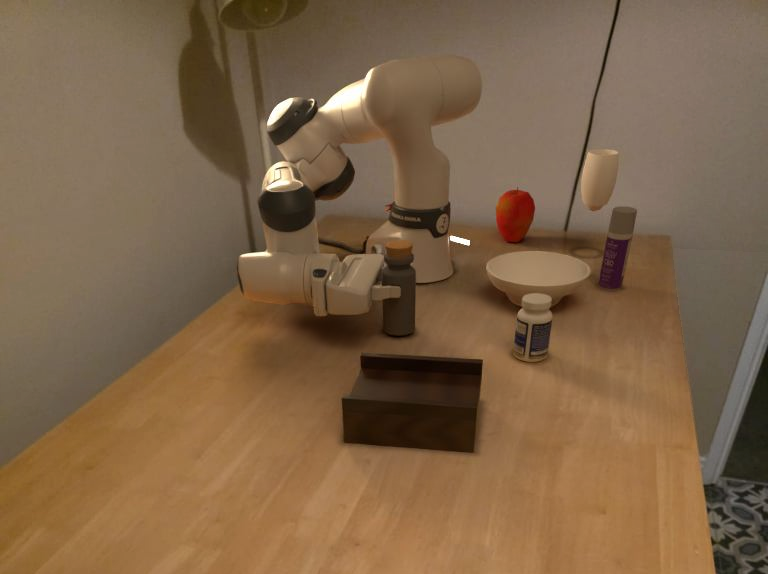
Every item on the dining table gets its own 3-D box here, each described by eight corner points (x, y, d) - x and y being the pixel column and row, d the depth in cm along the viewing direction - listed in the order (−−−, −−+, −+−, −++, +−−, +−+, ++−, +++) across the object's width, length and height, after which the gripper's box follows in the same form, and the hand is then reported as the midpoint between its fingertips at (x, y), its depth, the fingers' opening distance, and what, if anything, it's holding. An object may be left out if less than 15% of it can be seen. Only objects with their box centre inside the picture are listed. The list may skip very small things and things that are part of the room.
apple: (489, 236, 165) (493, 183, 157) (525, 234, 165) (530, 181, 158) (498, 247, 157) (503, 193, 150) (535, 245, 158) (542, 191, 150)
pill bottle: (549, 350, 114) (557, 293, 108) (544, 365, 110) (552, 306, 104) (516, 346, 116) (522, 289, 109) (509, 360, 111) (516, 302, 105)
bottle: (412, 336, 118) (413, 250, 109) (379, 334, 119) (378, 248, 110) (417, 323, 123) (418, 239, 113) (386, 321, 123) (385, 237, 114)
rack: (344, 442, 93) (341, 398, 88) (363, 393, 104) (361, 352, 99) (473, 452, 90) (477, 407, 86) (479, 401, 101) (483, 359, 97)
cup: (577, 245, 157) (593, 147, 144) (607, 251, 154) (626, 150, 141) (565, 254, 153) (580, 153, 140) (595, 259, 150) (613, 157, 137)
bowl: (522, 277, 142) (526, 244, 137) (603, 301, 131) (610, 266, 126) (463, 303, 131) (465, 268, 127) (546, 331, 120) (551, 294, 116)
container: (596, 289, 135) (610, 211, 126) (599, 282, 139) (613, 205, 129) (620, 292, 134) (636, 213, 125) (622, 284, 137) (639, 207, 128)
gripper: (339, 277, 127) (411, 280, 125) (313, 320, 112) (395, 324, 110) (338, 243, 123) (412, 246, 121) (310, 282, 108) (395, 286, 106)
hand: (404, 283), depth 115 cm, fingers closed on bottle, 6 cm apart
